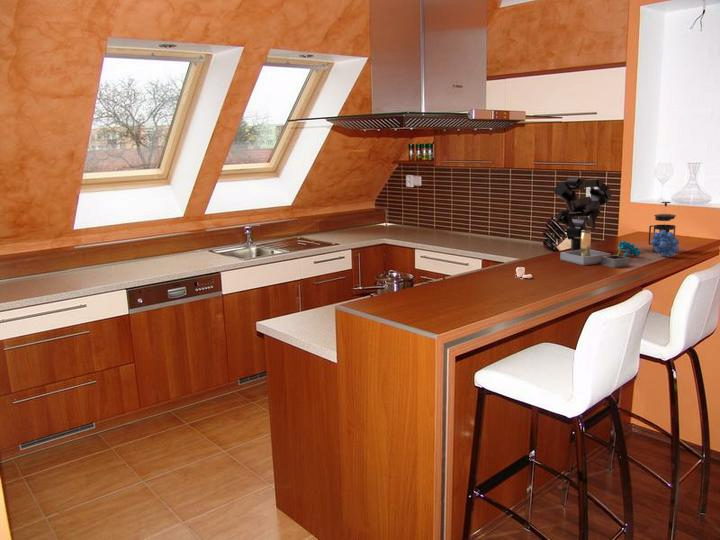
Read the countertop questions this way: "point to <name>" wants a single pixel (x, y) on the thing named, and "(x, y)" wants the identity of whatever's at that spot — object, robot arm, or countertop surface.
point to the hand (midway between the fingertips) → (584, 229)
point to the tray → (578, 259)
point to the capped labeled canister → (585, 242)
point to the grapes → (665, 243)
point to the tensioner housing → (615, 261)
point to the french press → (662, 227)
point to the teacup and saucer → (522, 272)
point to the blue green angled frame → (628, 249)
